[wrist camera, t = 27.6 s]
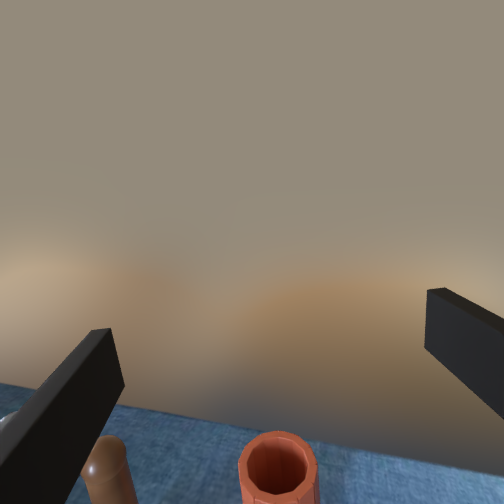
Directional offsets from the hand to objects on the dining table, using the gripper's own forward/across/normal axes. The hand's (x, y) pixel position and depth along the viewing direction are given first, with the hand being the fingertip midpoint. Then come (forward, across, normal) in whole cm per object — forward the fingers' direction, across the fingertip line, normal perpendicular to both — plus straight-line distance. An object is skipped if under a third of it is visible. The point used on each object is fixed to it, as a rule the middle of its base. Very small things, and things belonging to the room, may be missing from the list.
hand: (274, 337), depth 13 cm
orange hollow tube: (+10, 0, -28) cm, 30 cm away
